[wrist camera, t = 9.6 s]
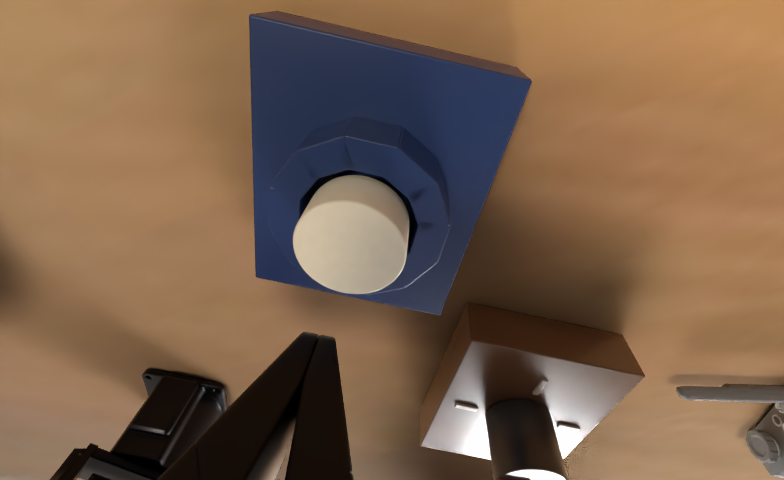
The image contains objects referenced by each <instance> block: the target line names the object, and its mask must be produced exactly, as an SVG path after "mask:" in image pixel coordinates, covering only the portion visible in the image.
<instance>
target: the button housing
mask: <svg viewBox="0 0 784 480" xmlns="http://www.w3.org/2000/svg"><path fill="white" fill-rule="evenodd" d="M249 28H250V68H251V108H252V148H253V188H254V228H255V268H256V277H258V278H262V279H267V280H272V281H277V282H282V283H286V284H291V285H296V286H301V287H306V288H310V289H315V290H320V291H325V292H330V293H334V294H339V295H344V296H349V297H353V298H358V299H363V300H368V301H373V302H377V303H382V304H387V305H392V306H397V307H401V308H406V309H411V310H416V311H421V312H425V313H430V314H435V315H441V313H442V310H443V308H444V305H445V302H446V300H447V297H448V295H449V292H450V290H451V287H452V285H453V282H454V279H455V277H456V274H457V272H458V269H459V267H460V264H461V262H462V259H463V257H464V254H465V251H466V249H467V246H468V244H469V241H470V239H471V236H472V234H473V231H474V228H475V226H476V223H477V221H478V218H479V216H480V213H481V211H482V208H483V205H484V203H485V200H486V198H487V195H488V193H489V190H490V188H491V185H492V182H493V180H494V177H495V175H496V172H497V170H498V167H499V165H500V162H501V159H502V157H503V154H504V152H505V149H506V147H507V144H508V142H509V139H510V136H511V134H512V131H513V129H514V126H515V124H516V121H517V119H518V116H519V113H520V111H521V108H522V106H523V103H524V101H525V98H526V96H527V93H528V90H529V88H530V85H531V83H532V81H531V80H530V79H529V78H528V77H527V76H526V75H525V74H524V73H522V72H521V71H520V70H519V69H518V68H517V67H513V66H509V65H505V64H500V63H496V62H492V61H488V60H483V59H479V58H475V57H471V56H466V55H462V54H458V53H454V52H449V51H445V50H441V49H437V48H432V47H428V46H424V45H420V44H415V43H411V42H407V41H403V40H398V39H394V38H390V37H386V36H381V35H377V34H373V33H369V32H364V31H360V30H356V29H352V28H347V27H343V26H339V25H335V24H330V23H326V22H322V21H318V20H313V19H309V18H305V17H301V16H296V15H292V14H288V13H284V12H279V11H274V12H266V13H258V14H251V15H250V16H249ZM347 175H361V176H367V177H370V178H374V179H376V180H378V181H381V182H382V183H384V184H386V185H387V186H389V187H390V188H391V189H392V190H394V191H395V192H396V193H397V194H398V196H399V197H400V198H401V199H402V201H403V203H404V204H405V206H406V209H407V211H408V215H409V236H408V247H407V257H406V262H405V265H404V268H403V270H402V272H401V273H400V275H399V276H398V277H397V278H396V279H395V280H394V281H393V282H392V283H391V284H389V285H388V286H386V287H385V288H383V289H380V290H378V291H375V292H371V293H366V294H348V293H342V292H338V291H335V290H332V289H329V288H327V287H325V286H323V285H321V284H320V283H318V282H317V281H315V280H314V279H313V278H311V277H310V276H309V275H308V274H307V273H306V272H305V271H304V269H303V268H302V267H301V265H300V264H299V262H298V260H297V258H296V255H295V252H294V247H293V234H294V230H295V227H296V225H297V223H298V221H299V219H300V217H301V216H302V214H303V212H304V211H305V209H306V207H307V205H308V204H309V202H310V200H311V199H312V197H313V195H314V194H315V192H316V191H317V190H318V189H319V188H320V187H321V186H322V185H324V184H325V183H326V182H328V181H330V180H332V179H335V178H337V177H341V176H347Z"/></svg>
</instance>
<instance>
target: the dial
mask: <svg viewBox="0 0 784 480" xmlns="http://www.w3.org/2000/svg"><path fill="white" fill-rule="evenodd" d="M486 425H487V433H488V441H489V449H490V457H491V465H492V473H493V480H569V479H568V475H567V472H566V468H565V464H564V461H563V457H562V454H561V450H560V447H559V443H558V440H557V436H556V432H555V429H554V425H553V422H552V418H551V415H550V412H549V410H548V409H547V408H546V407H545V406H543V405H542V404H540V403H538V402H535V401H531V400H525V399H513V400H507V401H503V402H500V403H498V404H496V405H494V406H492V407H491V408H490V409H489V410H488V412H487V414H486Z"/></svg>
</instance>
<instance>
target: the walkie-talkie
mask: <svg viewBox="0 0 784 480" xmlns="http://www.w3.org/2000/svg"><path fill="white" fill-rule="evenodd" d="M676 391H677V393H678V395H679V396H680V397H681V398H683V399H685V400H702V401H731V402H760V403H775V406H774V407H773V408H772V409H771V410H770V411H769V412H768V414H767V415H766V416H765V417H764V418H763V419H762V420H761V422H760V423H759V424H758V425H757V426H756V427H755V428H754V429H753V430H752V429H750V430H749V431H748V433H747V439H746V440H747V445H748V447H749V449H750V451H751V453H752V454H753V455H754V456H755V457H756V458H757V459H758V460H760V461H761V462H762V463H763V465H764V466H765V467H766V469H767V470H768V472H769V473H770V475H772V476H774V477H781V478H784V385H748V384H725V385H723V386H722V387H703V386H681V387H677V388H676Z"/></svg>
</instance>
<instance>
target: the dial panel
mask: <svg viewBox="0 0 784 480" xmlns="http://www.w3.org/2000/svg"><path fill="white" fill-rule="evenodd" d="M644 377H645V375H644V373H643V371H642V369H641V367H640V366H639V364H638V362H637V360H636V358H635V357H634V355H633V353H632V351H631V349H630V348H629V346H628V344H627V342H626V340H625V339H624V337H623V335H620V334H615V333H610V332H605V331H601V330H596V329H591V328H586V327H582V326H577V325H572V324H567V323H563V322H558V321H553V320H548V319H543V318H539V317H534V316H529V315H524V314H520V313H515V312H510V311H505V310H501V309H496V308H491V307H486V306H482V305H477V304H472V303H467V304H466V307H465V309H464V311H463V313H462V316H461V318H460V320H459V323H458V325H457V327H456V329H455V332H454V334H453V336H452V338H451V341H450V343H449V345H448V348H447V350H446V352H445V354H444V357H443V359H442V361H441V364H440V366H439V368H438V370H437V373H436V375H435V377H434V379H433V382H432V384H431V386H430V389H429V391H428V393H427V395H426V398H425V400H424V402H423V404H422V407H421V420H420V446H423V447H428V448H433V449H438V450H443V451H448V452H453V453H459V454H464V455H469V456H474V457H479V458H484V459H489V460H491V457H490V449H489V441H488V433H487V425H486V414H487V412H488V410H489V409H490V408H491V407H492V406H494V405H496V404H498V403H500V402H503V401H507V400H513V399H525V400H531V401H535V402H538V403H540V404H542V405H543V406H545V407H546V408H547V409H548V410H549V412H550V415H551V418H552V422H553V425H554V429H555V432H556V436H557V440H558V443H559V447H560V450H561V454H562V457H563V459H564V458H565V457H566V456H567V455H568V454H569V453H570V452H571V451H572V450H573V449H574V448H575V447H576V446H577V445H578V444H579V443H580V442H581V441H582V440H583V439H584V438H585V437H586V436H587V435H588V434H589V433H590V432H591V431H592V430H593V429H594V428H595V427H596V426H597V425H598V424H599V423H600V422H601V420H602V419H603V418H604V417H605V416H606V415H607V414H608V413H609V412H610V411H611V410H612V409H613V408H614V407H615V406H616V405H617V404H618V403H619V402H620V401H621V400H622V399H623V398H624V397H625V396H626V395H627V394H628V393H629V392H630V391H631V390H632V389H633V388H634V387H635V386H636V385H637V384H638V383H639V382H640V381H641V380H642V379H643V378H644Z"/></svg>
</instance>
